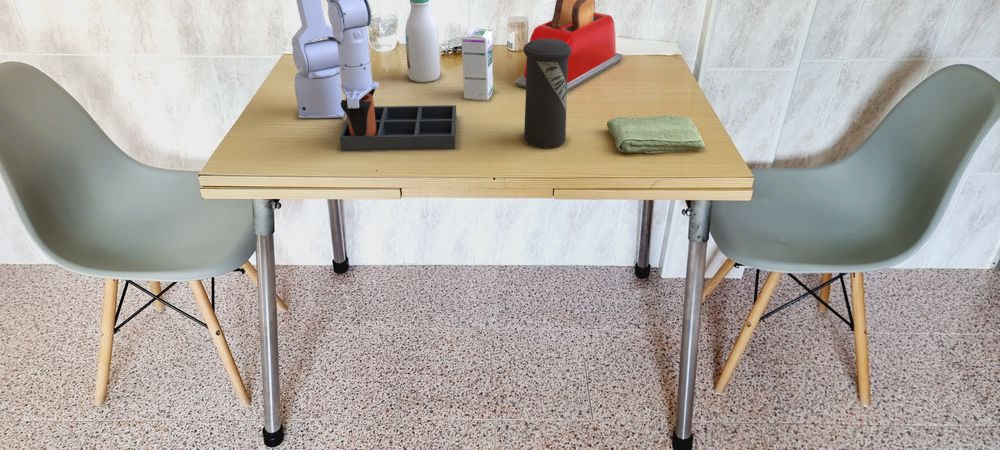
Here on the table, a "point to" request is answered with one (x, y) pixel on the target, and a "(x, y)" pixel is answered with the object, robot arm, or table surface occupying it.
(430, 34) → the milk bottle
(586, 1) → the toaster
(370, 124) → the jar
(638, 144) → the washcloth
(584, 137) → the table surface
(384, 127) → the tray
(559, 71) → the container
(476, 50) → the syrup box
